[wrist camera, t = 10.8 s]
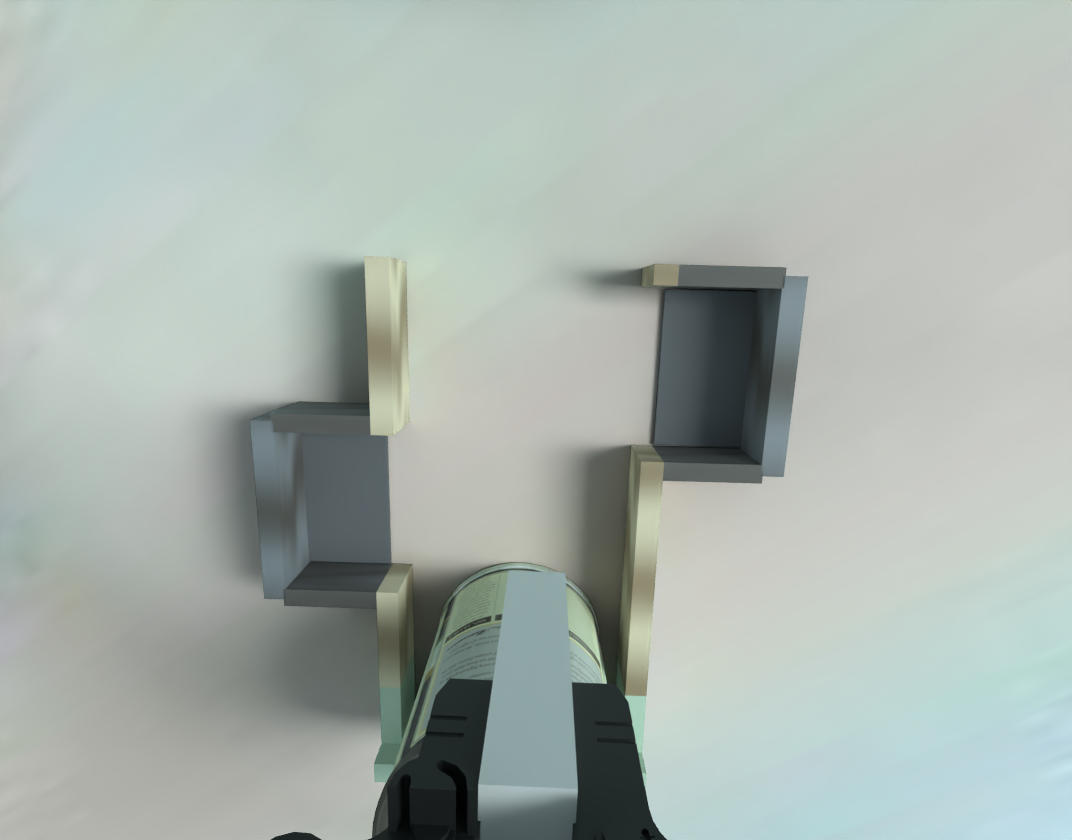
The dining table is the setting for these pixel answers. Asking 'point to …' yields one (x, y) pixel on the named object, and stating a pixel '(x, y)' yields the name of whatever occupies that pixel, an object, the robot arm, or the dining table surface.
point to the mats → (681, 419)
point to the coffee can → (486, 651)
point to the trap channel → (648, 469)
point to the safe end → (401, 702)
